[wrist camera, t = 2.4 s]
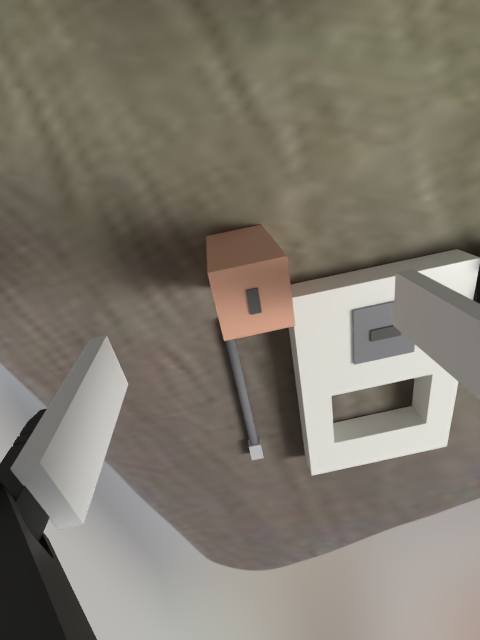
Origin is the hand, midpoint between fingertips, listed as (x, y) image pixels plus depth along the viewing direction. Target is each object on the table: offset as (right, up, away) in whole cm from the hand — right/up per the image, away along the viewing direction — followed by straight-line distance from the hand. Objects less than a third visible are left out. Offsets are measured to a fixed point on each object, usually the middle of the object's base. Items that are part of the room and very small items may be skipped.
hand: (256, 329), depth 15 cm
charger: (-1, +5, +9) cm, 10 cm away
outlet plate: (+11, -4, +15) cm, 19 cm away
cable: (-1, -6, +15) cm, 16 cm away
